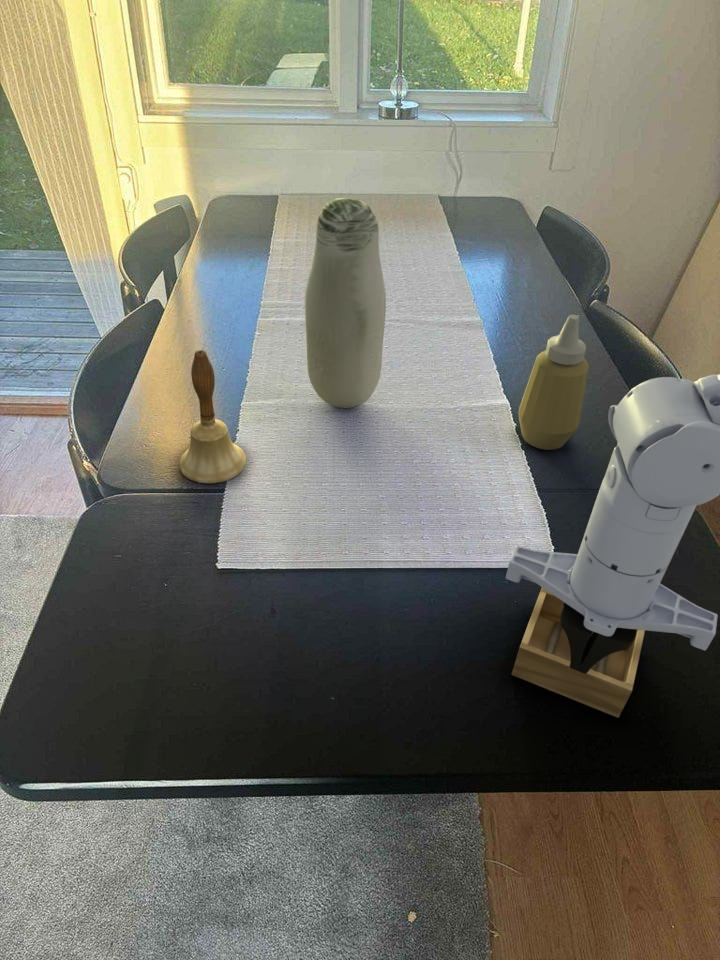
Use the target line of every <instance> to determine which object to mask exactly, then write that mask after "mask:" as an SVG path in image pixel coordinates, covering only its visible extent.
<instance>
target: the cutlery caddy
mask: <svg viewBox="0 0 720 960" xmlns="http://www.w3.org/2000/svg"><path fill="white" fill-rule="evenodd" d="M539 591H540V592H539V594H538V596H537V599H536V602H535V605H534V608H533V610H532V613H531V616H530V618H529V621H528V623H527V626H526V629H525V632H524V634H523V637H522V640H521V643H520V645H519V649H518V652H517V655H516V658H515V662H514V665H513V668H512V672H511V676H514V677H516V678H519V679H521V680H524V681H526V682H529V683H531V684H533V685H536V686H538V687H541V688H543V689H546V690H548V691H550V692H554V693H555V694H558V695H561V696H564V697H566V698H568V699H571V700H573V701H575V702H578V703H581V704H583V705H586V706H588V707H590V708H592V709H595V710H597V711H601V712H602V713H605V714H608V715H610V716H613V717H615V718H620V716H621V714H622V713H623V710H624V708H625V706H626V704H627V702H628V700H629V698H630V696H631V694H632V692H633V689H634V684H635V680H636V675H637V670H638V665H639V661H640V656H641V650H642V646H643V642H644V637H645V632H646V630H637V633H636V637H635V639H634V642H633V643H632V645H631V646H630V647H629V648H628V649H627V650H623V651H618V652H615V653H612V654H610V655H608V656H606V657H604V658H603V659H601V660H600V661H599V662H597V663H596V664H595V665H594V666H593V667H592V668H591V669H590V670H589V671H588V672H587V673H586V674H584V673H582V672H579V671H576V670H574V669H571V668H570V667H569V666H570V662H571V654H570V646H569V641H568V638H567V635H566V633H565V631H564V629H563V628H562V627H561V623H560V615H561V611H562V608H563V605H564V602H563V601H562V600H560V599H559V598H557V597H556V596H554V595H553V594H551V593H550V592H548V591H547V590H545V589H544V588H542V587H541V589H540V590H539ZM592 632H593V631H592Z"/></svg>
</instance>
